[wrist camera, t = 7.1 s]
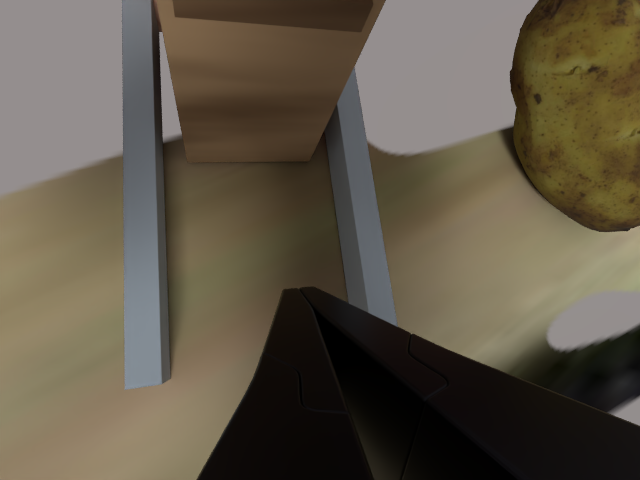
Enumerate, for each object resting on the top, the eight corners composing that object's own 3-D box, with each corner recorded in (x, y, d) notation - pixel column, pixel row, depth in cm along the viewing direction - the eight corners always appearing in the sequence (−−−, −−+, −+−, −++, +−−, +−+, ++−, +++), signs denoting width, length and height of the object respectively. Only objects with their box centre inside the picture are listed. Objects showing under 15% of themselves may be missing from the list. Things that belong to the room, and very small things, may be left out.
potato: (500, 241, 22) (644, 187, 14) (465, 48, 25) (568, -78, 18) (616, 241, 24) (795, 194, 16) (570, 63, 27) (702, -45, 20)
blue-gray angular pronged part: (379, 348, 19) (464, 350, 12) (139, 382, 16) (80, 409, 9) (329, 26, 23) (372, -102, 16) (133, 10, 20) (90, -152, 14)
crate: (309, 164, 20) (430, -85, 8) (187, 166, 19) (128, -138, 7) (294, 46, 22) (378, -300, 10) (181, 38, 20) (125, -380, 9)
